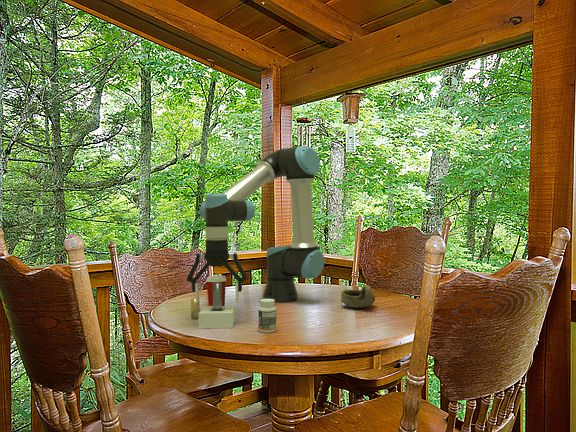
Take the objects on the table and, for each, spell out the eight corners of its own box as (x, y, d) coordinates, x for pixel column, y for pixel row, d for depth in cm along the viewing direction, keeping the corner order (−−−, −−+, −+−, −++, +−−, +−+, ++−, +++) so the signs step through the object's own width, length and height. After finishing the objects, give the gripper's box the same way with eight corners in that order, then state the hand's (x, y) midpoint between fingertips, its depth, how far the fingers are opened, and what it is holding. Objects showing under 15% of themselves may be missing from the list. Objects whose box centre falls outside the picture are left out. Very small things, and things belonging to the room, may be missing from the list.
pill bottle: (258, 328, 149) (258, 298, 149) (275, 328, 150) (275, 298, 150) (258, 333, 144) (258, 301, 144) (276, 332, 144) (276, 301, 144)
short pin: (200, 317, 166) (200, 298, 166) (198, 319, 163) (198, 299, 163) (192, 317, 166) (191, 298, 166) (190, 319, 163) (189, 299, 163)
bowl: (366, 303, 190) (366, 279, 190) (385, 312, 173) (385, 285, 173) (335, 305, 186) (335, 280, 186) (351, 314, 169) (351, 287, 169)
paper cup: (230, 312, 173) (230, 275, 173) (221, 317, 166) (220, 278, 166) (212, 311, 176) (211, 275, 176) (202, 315, 169) (201, 277, 169)
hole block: (235, 320, 161) (235, 306, 161) (232, 328, 150) (232, 312, 150) (203, 320, 161) (203, 306, 161) (198, 328, 150) (198, 313, 150)
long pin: (222, 323, 157) (222, 282, 157) (221, 325, 154) (221, 283, 154) (213, 323, 157) (213, 282, 157) (212, 325, 154) (212, 284, 154)
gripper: (254, 238, 159) (254, 298, 160) (182, 238, 159) (182, 299, 159) (253, 239, 152) (253, 303, 152) (177, 240, 151) (178, 304, 151)
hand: (217, 301), depth 156 cm, fingers open, 13 cm apart
